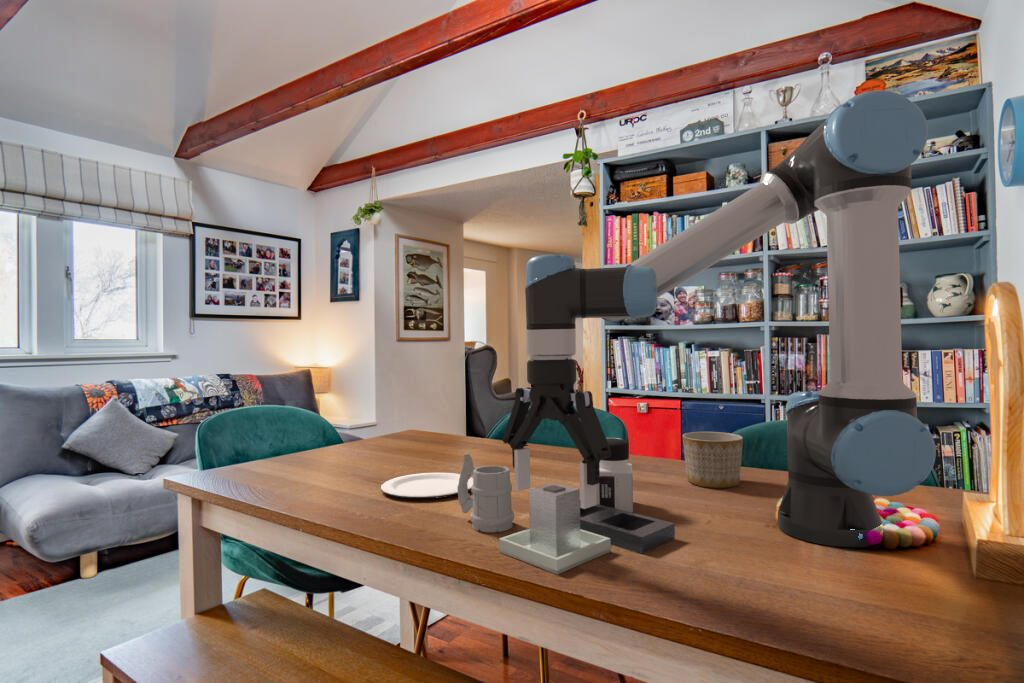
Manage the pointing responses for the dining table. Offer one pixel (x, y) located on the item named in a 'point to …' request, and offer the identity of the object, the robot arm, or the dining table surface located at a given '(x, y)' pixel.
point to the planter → (713, 458)
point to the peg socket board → (639, 540)
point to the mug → (486, 496)
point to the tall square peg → (554, 519)
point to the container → (616, 477)
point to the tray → (521, 550)
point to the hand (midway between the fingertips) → (553, 497)
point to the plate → (424, 485)
